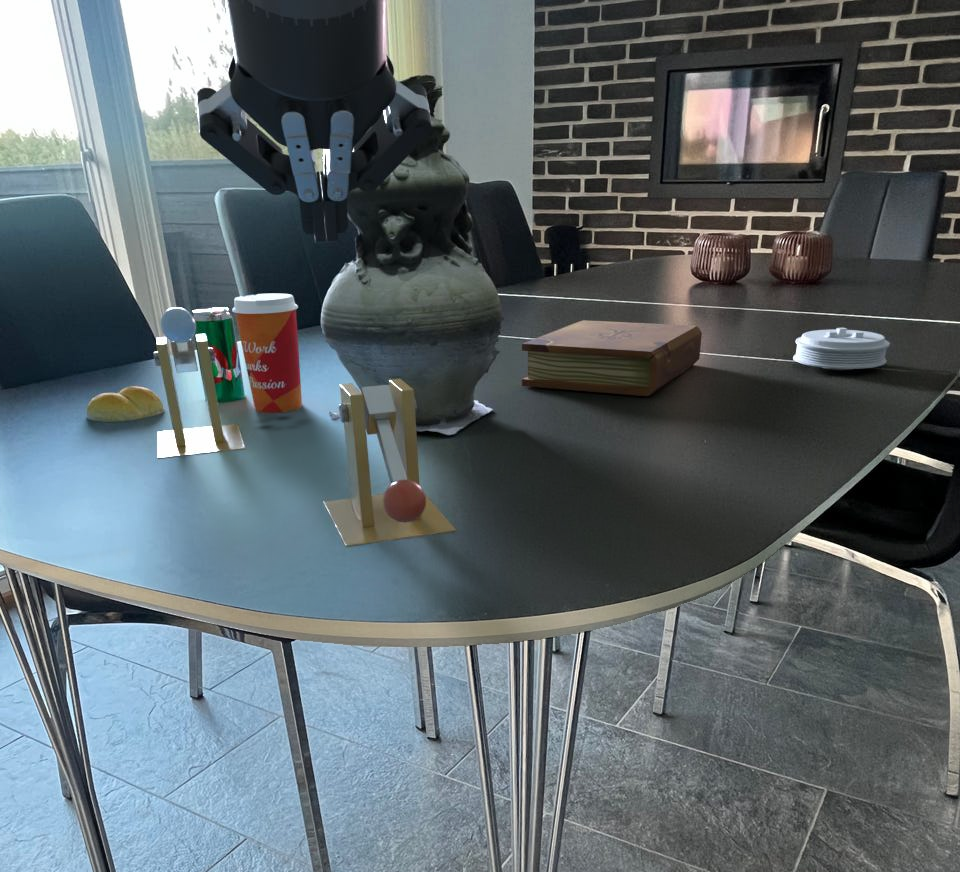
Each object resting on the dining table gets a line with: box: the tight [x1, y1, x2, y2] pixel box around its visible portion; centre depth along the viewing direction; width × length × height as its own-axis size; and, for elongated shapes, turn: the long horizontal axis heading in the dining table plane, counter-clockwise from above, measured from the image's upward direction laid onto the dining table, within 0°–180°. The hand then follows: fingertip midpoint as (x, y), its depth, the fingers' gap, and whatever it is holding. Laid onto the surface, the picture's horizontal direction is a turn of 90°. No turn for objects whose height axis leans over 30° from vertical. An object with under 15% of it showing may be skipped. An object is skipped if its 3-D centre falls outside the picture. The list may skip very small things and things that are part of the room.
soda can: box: [192, 306, 246, 404], centre depth 110 cm, size 5×5×12 cm
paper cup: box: [231, 292, 303, 414], centre depth 105 cm, size 8×8×14 cm
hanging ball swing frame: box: [153, 334, 246, 459], centre depth 93 cm, size 11×9×12 cm
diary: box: [521, 319, 703, 397], centre depth 123 cm, size 23×19×6 cm
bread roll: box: [86, 386, 166, 423], centre depth 106 cm, size 8×9×4 cm
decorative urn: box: [320, 74, 505, 436], centre depth 98 cm, size 21×21×35 cm
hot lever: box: [360, 385, 426, 523], centre depth 67 cm, size 12×3×3 cm
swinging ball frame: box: [323, 379, 457, 548], centre depth 70 cm, size 11×9×12 cm
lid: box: [792, 327, 891, 371], centre depth 125 cm, size 13×13×5 cm
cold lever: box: [160, 306, 199, 374], centre depth 86 cm, size 12×3×3 cm, turn 18°
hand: (325, 231), depth 55 cm, fingers closed
